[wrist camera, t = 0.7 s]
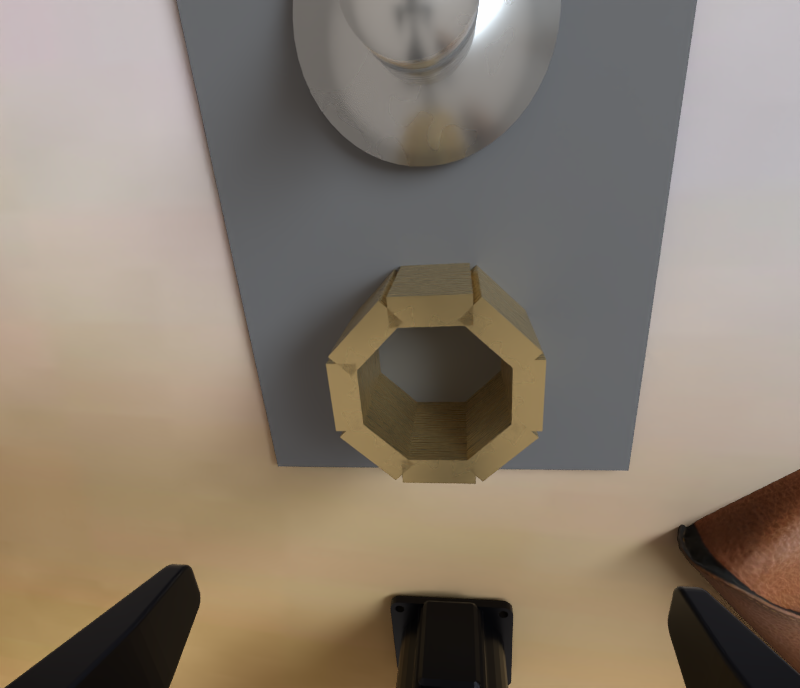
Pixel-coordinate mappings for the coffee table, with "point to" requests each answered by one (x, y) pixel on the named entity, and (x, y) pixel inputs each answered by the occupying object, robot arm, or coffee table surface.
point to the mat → (451, 223)
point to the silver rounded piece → (424, 70)
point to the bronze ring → (438, 421)
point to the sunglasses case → (755, 560)
